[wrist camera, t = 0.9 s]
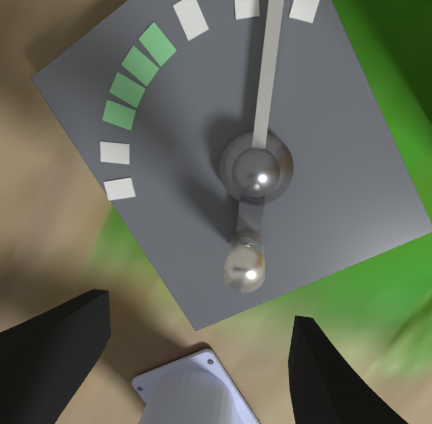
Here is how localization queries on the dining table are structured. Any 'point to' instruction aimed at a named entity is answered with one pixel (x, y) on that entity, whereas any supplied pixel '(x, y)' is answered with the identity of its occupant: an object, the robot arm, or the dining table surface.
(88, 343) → the robot arm
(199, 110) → the dial plate
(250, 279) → the dial pointer
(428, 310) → the dining table surface
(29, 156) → the dining table surface
